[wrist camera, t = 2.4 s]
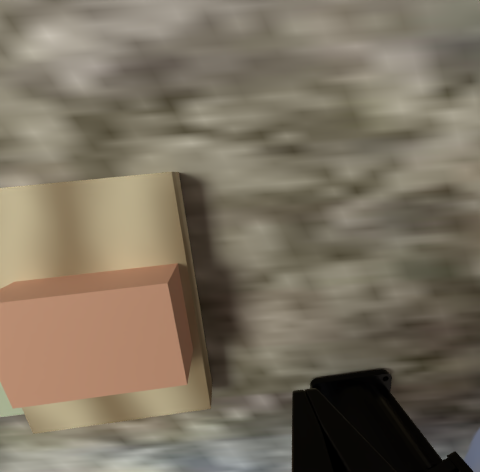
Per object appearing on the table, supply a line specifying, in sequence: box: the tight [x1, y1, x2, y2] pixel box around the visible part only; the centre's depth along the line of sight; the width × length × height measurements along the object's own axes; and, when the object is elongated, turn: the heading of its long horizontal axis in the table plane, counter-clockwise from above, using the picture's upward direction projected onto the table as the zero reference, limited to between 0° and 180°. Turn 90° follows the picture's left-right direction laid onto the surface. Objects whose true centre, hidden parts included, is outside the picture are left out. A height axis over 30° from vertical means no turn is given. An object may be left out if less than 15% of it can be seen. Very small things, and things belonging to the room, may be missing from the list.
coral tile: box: [0, 263, 193, 409], centre depth 12 cm, size 9×6×2 cm, turn 95°
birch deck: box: [0, 172, 212, 434], centre depth 15 cm, size 12×16×2 cm
